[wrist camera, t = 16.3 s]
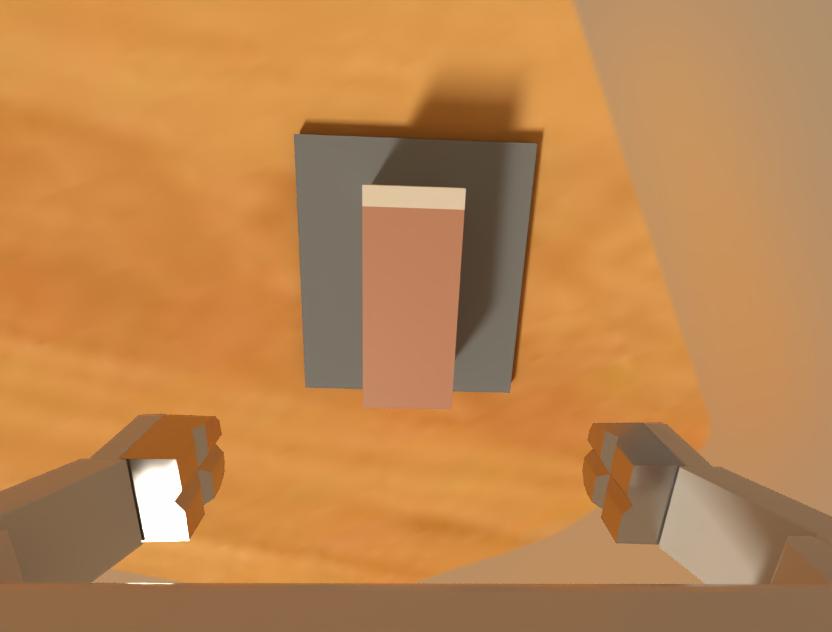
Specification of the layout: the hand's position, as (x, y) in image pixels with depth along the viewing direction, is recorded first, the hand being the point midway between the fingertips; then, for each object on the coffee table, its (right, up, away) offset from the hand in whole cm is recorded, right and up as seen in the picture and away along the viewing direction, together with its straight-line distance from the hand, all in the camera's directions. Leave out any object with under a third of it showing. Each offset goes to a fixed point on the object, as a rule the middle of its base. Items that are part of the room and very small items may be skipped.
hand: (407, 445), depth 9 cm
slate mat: (0, +6, +18) cm, 19 cm away
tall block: (0, -2, +17) cm, 17 cm away
